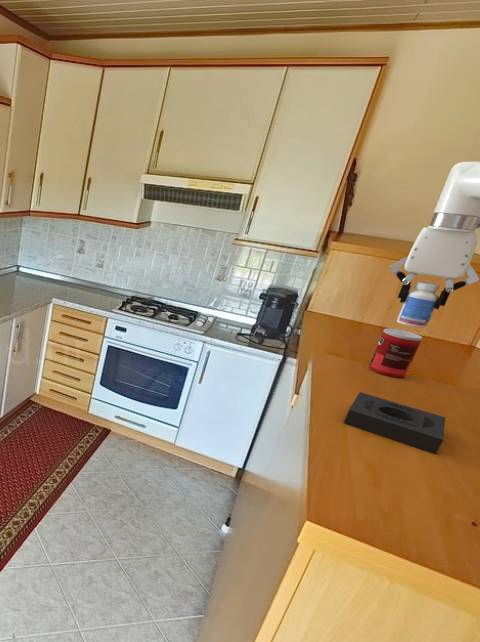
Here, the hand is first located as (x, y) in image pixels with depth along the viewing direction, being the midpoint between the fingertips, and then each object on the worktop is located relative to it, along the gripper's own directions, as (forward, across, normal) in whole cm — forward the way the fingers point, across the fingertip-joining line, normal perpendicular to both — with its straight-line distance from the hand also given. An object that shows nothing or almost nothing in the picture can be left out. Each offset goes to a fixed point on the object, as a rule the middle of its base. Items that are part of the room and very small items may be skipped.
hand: (419, 304), depth 111 cm
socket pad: (+21, -4, +27) cm, 34 cm away
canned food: (+21, +1, -15) cm, 26 cm away
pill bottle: (+5, 0, 0) cm, 5 cm away
